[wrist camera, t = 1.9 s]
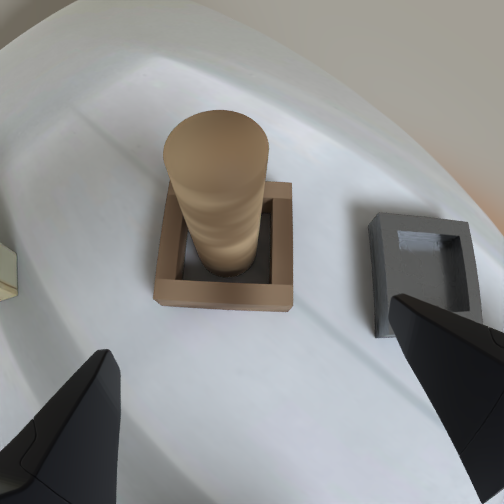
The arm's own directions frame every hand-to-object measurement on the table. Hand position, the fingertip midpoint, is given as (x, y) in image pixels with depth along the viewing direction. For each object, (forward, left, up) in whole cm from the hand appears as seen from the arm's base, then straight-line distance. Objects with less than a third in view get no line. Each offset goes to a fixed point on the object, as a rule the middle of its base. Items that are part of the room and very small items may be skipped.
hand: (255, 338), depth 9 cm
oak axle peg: (-2, +8, -13) cm, 16 cm away
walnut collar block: (-2, +8, -13) cm, 16 cm away
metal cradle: (+14, +6, -13) cm, 20 cm away
